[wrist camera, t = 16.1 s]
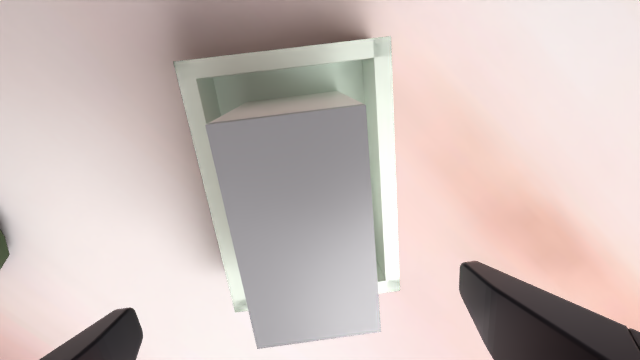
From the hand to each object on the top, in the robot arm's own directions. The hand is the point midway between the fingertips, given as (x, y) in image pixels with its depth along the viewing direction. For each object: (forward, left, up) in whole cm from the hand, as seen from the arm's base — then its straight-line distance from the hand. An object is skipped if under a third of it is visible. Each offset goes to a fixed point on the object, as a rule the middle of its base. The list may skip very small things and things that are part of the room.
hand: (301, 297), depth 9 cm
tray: (0, 0, -11) cm, 11 cm away
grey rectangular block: (0, 0, -11) cm, 11 cm away
